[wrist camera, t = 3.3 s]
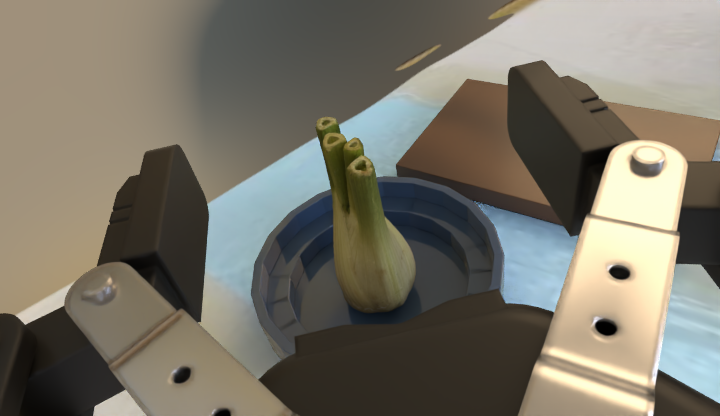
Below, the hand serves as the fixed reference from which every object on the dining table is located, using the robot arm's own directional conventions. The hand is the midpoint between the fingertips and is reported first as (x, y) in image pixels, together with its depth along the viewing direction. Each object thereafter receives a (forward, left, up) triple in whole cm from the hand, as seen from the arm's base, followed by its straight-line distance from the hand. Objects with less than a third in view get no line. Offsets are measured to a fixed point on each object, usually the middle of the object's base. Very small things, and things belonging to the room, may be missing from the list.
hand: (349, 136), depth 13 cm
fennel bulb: (-8, -7, -20) cm, 23 cm away
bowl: (-8, -7, -20) cm, 23 cm away
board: (-25, -2, -20) cm, 32 cm away
